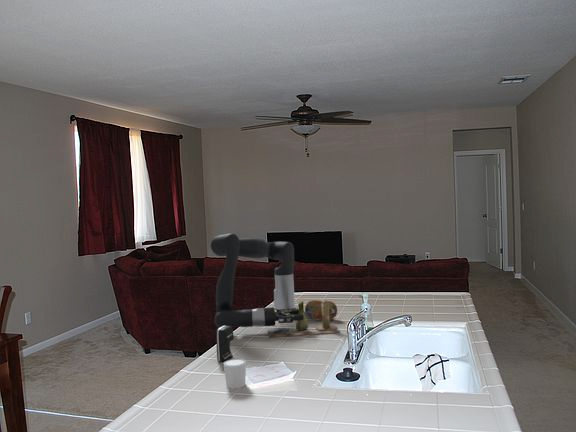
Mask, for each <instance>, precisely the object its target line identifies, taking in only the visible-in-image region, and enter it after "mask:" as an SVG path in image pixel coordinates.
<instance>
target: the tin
mask: <svg viewBox="0 0 576 432" xmlns="http://www.w3.org/2000/svg"><path fill="white" fill-rule="evenodd" d="M322 301H323V300H310V301H308V302H307V303H306V304H305V308H304V311H305V312H304V313H306V316H307V317H308V319H310V320H320V321H322ZM327 301H328V302H329V321H331V320H333V319H335V317H336V316H337V315H338V307H337V305H336V303H335V302H333V301H331V300H327Z"/></svg>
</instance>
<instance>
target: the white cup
mask: <svg viewBox="0 0 576 432" xmlns="http://www.w3.org/2000/svg"><path fill="white" fill-rule="evenodd" d="M223 370H224V376H225V383H226V384H225V385H226V388H228V389H233V390H234V389H241V388H243V387H244V386H246V375H247V374H246V372H247V361H246V359H242V358H241V359H240V358H233V359H228V360H227V361H223Z"/></svg>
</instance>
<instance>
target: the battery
mask: <svg viewBox="0 0 576 432" xmlns="http://www.w3.org/2000/svg"><path fill="white" fill-rule="evenodd" d="M232 341H234V329H233V327H231V326H222V327H220V328H219V327H217V329H216V331H215V343H216V345H215V346H216V359H217V362H225V361H228V360H231V358H233V353H232V350H231V342H232Z"/></svg>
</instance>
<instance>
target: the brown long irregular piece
mask: <svg viewBox="0 0 576 432" xmlns="http://www.w3.org/2000/svg"><path fill="white" fill-rule="evenodd" d="M321 301H322V320H321V321H322V322H321V323H322V324H320V325H316V326H315V330H316V331H307V332H306V331H305V332H304V331H302V332H294V333H293V332H290V329H289V328H288V327H274V328H270V329H268V330H267V333H268V339H274V338H286V337H287V338H288V337H301V336H302V337H303V336H319V335H329V334H330V335H331V334H341V331H340V329H338V327H337V325H333V324H330V320H329V302H328V301H329V300H328V299H325V300H321ZM289 332H290V333H289Z"/></svg>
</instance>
